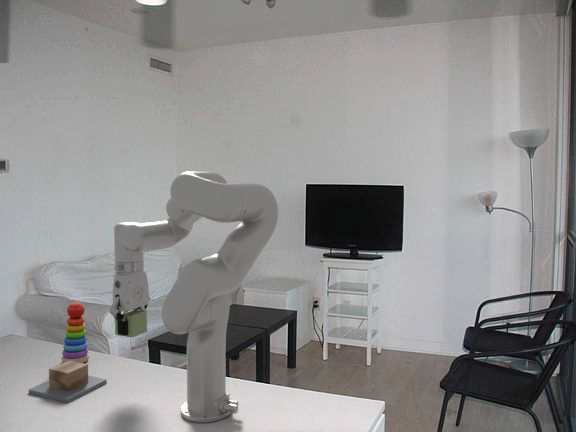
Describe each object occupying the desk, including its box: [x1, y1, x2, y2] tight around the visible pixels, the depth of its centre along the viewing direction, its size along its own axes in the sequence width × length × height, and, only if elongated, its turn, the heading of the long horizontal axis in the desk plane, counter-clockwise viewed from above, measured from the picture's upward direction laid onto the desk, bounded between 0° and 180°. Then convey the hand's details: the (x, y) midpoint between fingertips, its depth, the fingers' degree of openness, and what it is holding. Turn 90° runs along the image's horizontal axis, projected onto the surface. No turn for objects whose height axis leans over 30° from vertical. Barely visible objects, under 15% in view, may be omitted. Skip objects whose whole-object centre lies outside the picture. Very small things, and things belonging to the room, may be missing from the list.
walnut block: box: [48, 360, 89, 391], centre depth 142 cm, size 7×7×5 cm
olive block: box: [114, 309, 148, 339], centre depth 144 cm, size 6×6×6 cm
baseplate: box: [28, 375, 107, 404], centre depth 143 cm, size 14×14×1 cm
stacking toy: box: [61, 301, 90, 364], centre depth 162 cm, size 8×8×19 cm
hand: (131, 330), depth 144 cm, fingers closed on olive block, 6 cm apart
